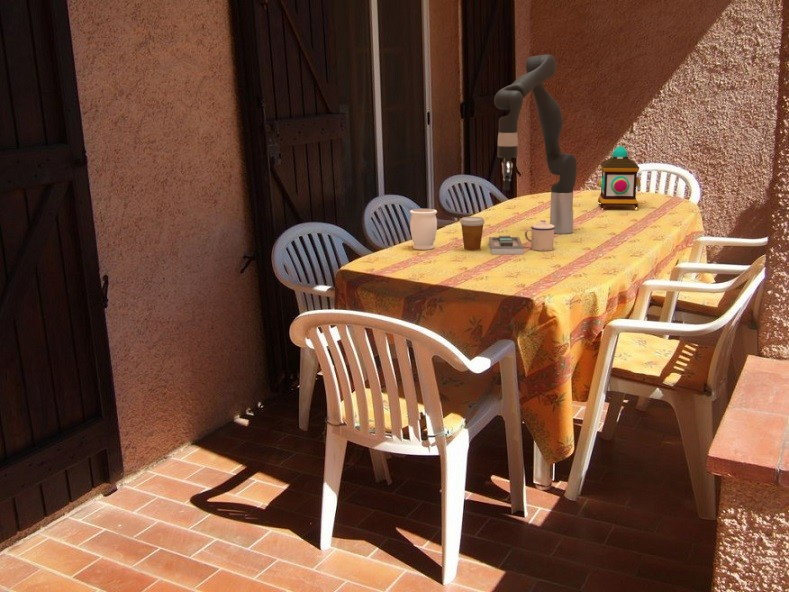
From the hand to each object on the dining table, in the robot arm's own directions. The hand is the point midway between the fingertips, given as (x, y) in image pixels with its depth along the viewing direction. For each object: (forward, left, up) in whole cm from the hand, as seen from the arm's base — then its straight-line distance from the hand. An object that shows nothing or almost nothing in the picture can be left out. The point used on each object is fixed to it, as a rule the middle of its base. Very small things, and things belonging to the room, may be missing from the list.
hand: (506, 190), depth 337 cm
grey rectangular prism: (0, -5, -20) cm, 21 cm away
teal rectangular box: (0, 0, -20) cm, 20 cm away
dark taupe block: (0, +5, -20) cm, 21 cm away
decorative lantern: (-62, -95, -23) cm, 116 cm away
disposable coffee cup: (+13, -1, -23) cm, 27 cm away
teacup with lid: (-13, -1, -23) cm, 27 cm away
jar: (+32, -3, -23) cm, 40 cm away
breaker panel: (0, 0, -23) cm, 23 cm away
